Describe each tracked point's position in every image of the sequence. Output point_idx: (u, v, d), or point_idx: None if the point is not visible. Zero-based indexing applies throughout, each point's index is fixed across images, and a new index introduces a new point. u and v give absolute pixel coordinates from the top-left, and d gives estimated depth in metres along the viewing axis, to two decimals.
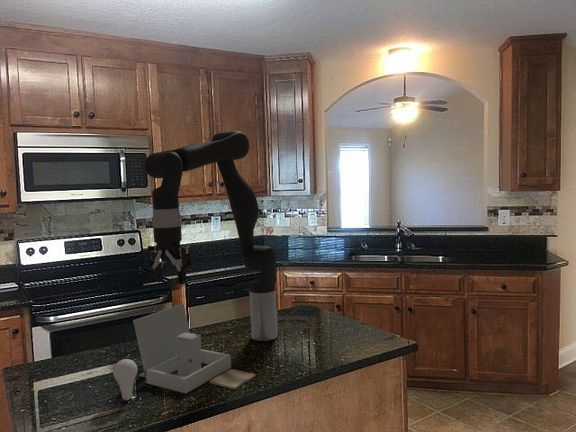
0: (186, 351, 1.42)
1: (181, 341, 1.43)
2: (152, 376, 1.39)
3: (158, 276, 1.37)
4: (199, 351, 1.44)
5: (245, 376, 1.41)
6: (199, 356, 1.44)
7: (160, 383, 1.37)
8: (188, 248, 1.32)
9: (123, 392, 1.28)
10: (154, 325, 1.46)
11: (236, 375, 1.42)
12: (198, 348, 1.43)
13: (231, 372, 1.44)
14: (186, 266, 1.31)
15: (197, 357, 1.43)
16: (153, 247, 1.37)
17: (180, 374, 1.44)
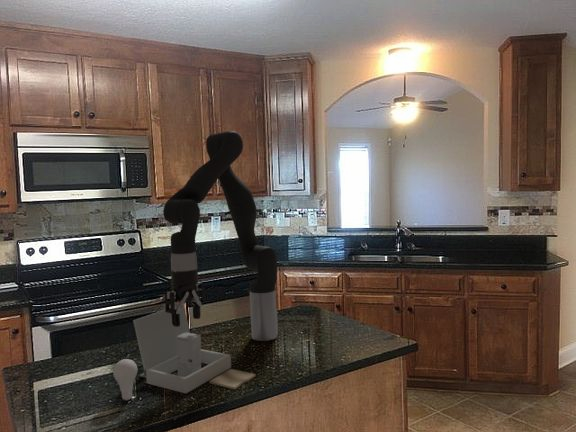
0: (186, 351, 1.42)
1: (181, 341, 1.43)
2: (152, 376, 1.39)
3: None
4: (199, 351, 1.44)
5: (245, 376, 1.41)
6: (199, 356, 1.44)
7: (160, 383, 1.37)
8: None
9: (123, 392, 1.28)
10: (154, 325, 1.46)
11: (236, 375, 1.42)
12: (198, 348, 1.43)
13: (231, 372, 1.44)
14: None
15: (197, 357, 1.43)
16: None
17: (180, 374, 1.44)
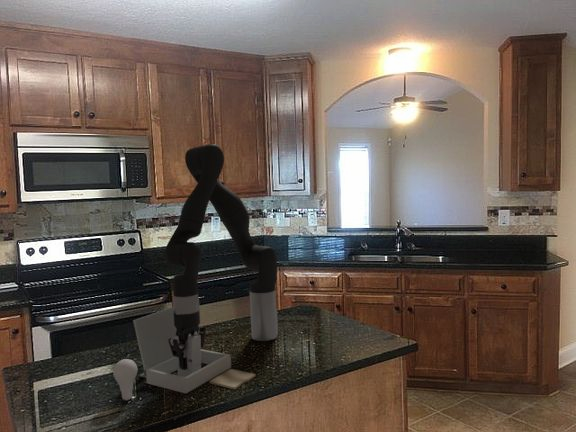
0: None
1: None
2: (152, 376, 1.39)
3: None
4: (199, 351, 1.44)
5: (245, 376, 1.41)
6: (199, 356, 1.44)
7: (160, 383, 1.37)
8: None
9: (123, 392, 1.28)
10: (154, 325, 1.46)
11: (236, 375, 1.42)
12: (198, 348, 1.43)
13: (231, 372, 1.44)
14: None
15: (197, 357, 1.43)
16: (176, 338, 1.39)
17: (180, 374, 1.44)
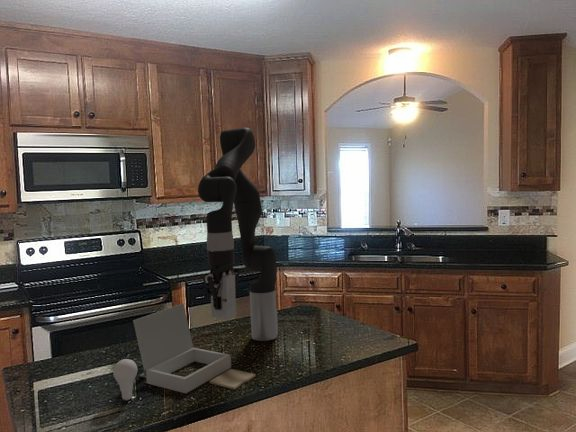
0: None
1: None
2: (152, 376, 1.39)
3: None
4: (233, 291, 1.38)
5: (245, 376, 1.41)
6: (233, 296, 1.39)
7: (160, 383, 1.37)
8: None
9: (123, 392, 1.28)
10: (154, 325, 1.46)
11: (236, 375, 1.42)
12: (232, 288, 1.38)
13: (231, 372, 1.44)
14: None
15: (231, 297, 1.38)
16: (210, 276, 1.34)
17: (214, 315, 1.38)
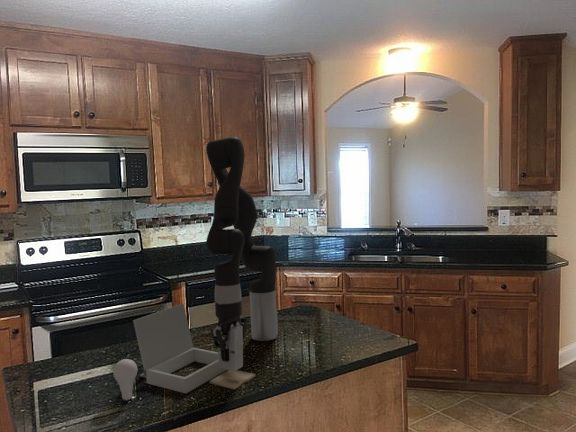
0: None
1: None
2: (152, 376, 1.39)
3: None
4: (241, 342, 1.39)
5: (245, 376, 1.41)
6: (241, 347, 1.39)
7: (160, 383, 1.37)
8: None
9: (123, 392, 1.28)
10: (154, 325, 1.46)
11: (236, 375, 1.42)
12: (240, 339, 1.39)
13: (231, 372, 1.44)
14: None
15: (239, 348, 1.38)
16: (218, 329, 1.34)
17: (222, 366, 1.39)
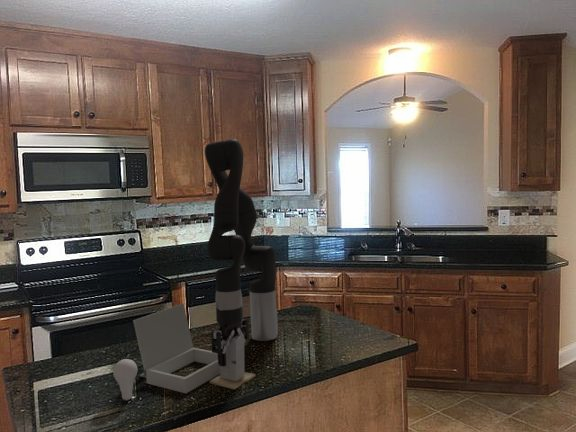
0: (230, 352, 1.38)
1: None
2: (152, 376, 1.39)
3: None
4: (242, 352, 1.40)
5: (245, 376, 1.41)
6: (242, 357, 1.40)
7: (160, 383, 1.37)
8: None
9: (123, 392, 1.28)
10: (154, 325, 1.46)
11: None
12: (241, 349, 1.39)
13: None
14: None
15: (241, 358, 1.39)
16: None
17: (223, 376, 1.39)
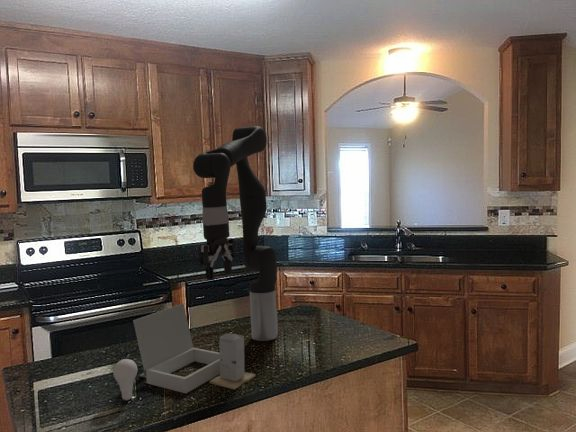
0: (230, 352, 1.38)
1: (225, 342, 1.39)
2: (152, 376, 1.39)
3: None
4: (242, 352, 1.40)
5: (245, 376, 1.41)
6: (242, 357, 1.40)
7: (160, 383, 1.37)
8: None
9: (123, 392, 1.28)
10: (154, 325, 1.46)
11: None
12: (241, 349, 1.39)
13: None
14: None
15: (240, 358, 1.39)
16: None
17: (223, 376, 1.39)
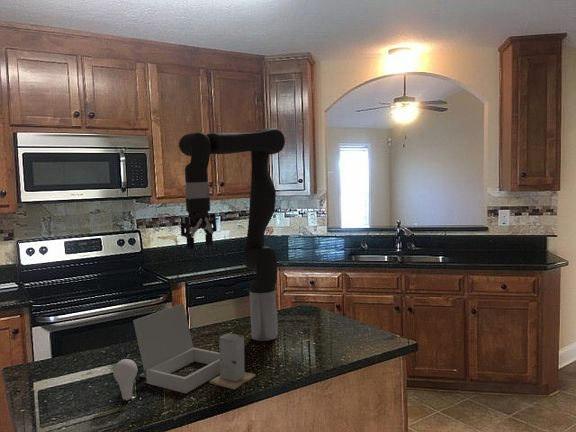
0: (230, 352, 1.38)
1: (225, 342, 1.39)
2: (152, 376, 1.39)
3: None
4: (242, 352, 1.40)
5: (245, 376, 1.41)
6: (242, 357, 1.40)
7: (160, 383, 1.37)
8: None
9: (123, 392, 1.28)
10: (154, 325, 1.46)
11: None
12: (241, 349, 1.39)
13: None
14: None
15: (240, 358, 1.39)
16: None
17: (223, 376, 1.39)
